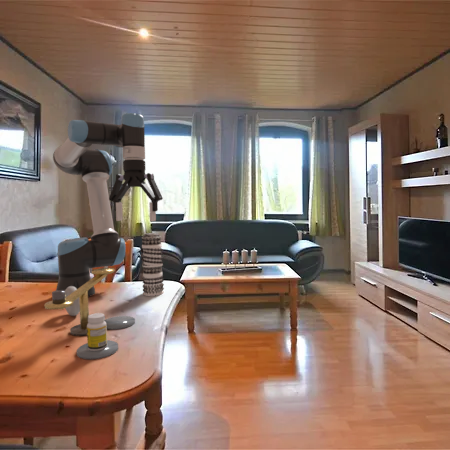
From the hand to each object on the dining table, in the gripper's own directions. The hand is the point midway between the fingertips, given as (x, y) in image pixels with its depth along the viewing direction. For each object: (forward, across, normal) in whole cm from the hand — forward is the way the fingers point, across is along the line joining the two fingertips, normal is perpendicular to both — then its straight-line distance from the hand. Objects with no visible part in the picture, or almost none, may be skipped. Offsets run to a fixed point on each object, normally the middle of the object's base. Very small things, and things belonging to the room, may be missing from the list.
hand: (135, 221), depth 125 cm
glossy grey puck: (+31, +3, -16) cm, 35 cm away
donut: (+31, -17, -14) cm, 38 cm away
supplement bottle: (+30, +10, -35) cm, 47 cm away
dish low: (+31, +11, -35) cm, 48 cm away
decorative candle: (+32, -6, +20) cm, 38 cm away
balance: (+31, -3, -24) cm, 40 cm away
